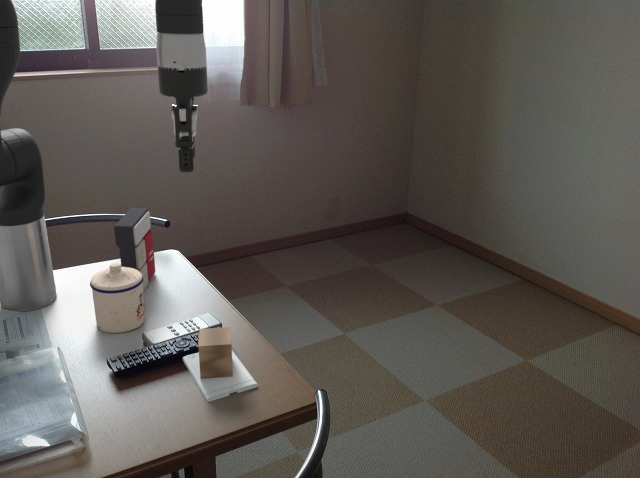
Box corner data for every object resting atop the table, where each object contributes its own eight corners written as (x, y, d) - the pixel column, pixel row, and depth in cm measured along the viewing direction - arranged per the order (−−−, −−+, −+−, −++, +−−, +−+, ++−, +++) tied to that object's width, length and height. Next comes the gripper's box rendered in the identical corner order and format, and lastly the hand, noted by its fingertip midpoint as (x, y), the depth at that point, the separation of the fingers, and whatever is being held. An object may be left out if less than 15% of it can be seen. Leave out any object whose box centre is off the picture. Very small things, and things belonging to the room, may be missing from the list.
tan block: (200, 378, 92) (198, 346, 90) (201, 360, 97) (199, 328, 94) (232, 376, 93) (231, 344, 90) (232, 358, 97) (231, 327, 95)
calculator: (142, 296, 118) (136, 226, 112) (121, 296, 118) (113, 226, 112) (157, 273, 128) (152, 208, 122) (137, 272, 128) (131, 207, 122)
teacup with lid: (150, 329, 106) (145, 271, 102) (97, 338, 103) (89, 279, 99) (141, 299, 117) (135, 245, 112) (92, 307, 113) (85, 252, 109)
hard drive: (182, 356, 98) (207, 397, 88) (228, 343, 101) (257, 382, 91) (182, 364, 98) (207, 406, 88) (229, 352, 102) (258, 391, 92)
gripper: (161, 58, 98) (167, 154, 104) (153, 68, 85) (161, 176, 91) (206, 59, 99) (210, 153, 105) (206, 69, 86) (210, 176, 92)
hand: (187, 164), depth 98 cm, fingers open, 8 cm apart
